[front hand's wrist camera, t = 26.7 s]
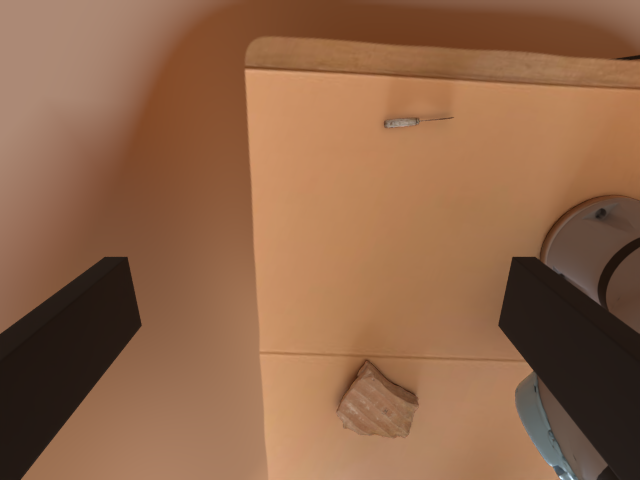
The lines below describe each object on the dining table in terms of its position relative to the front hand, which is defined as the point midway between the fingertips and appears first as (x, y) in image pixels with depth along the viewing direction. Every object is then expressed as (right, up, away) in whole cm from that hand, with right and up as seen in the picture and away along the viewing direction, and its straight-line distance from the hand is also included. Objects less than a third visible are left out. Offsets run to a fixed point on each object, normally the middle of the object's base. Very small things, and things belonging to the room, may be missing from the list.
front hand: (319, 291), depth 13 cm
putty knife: (+12, +16, +31) cm, 37 cm away
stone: (+9, -23, +46) cm, 53 cm away
